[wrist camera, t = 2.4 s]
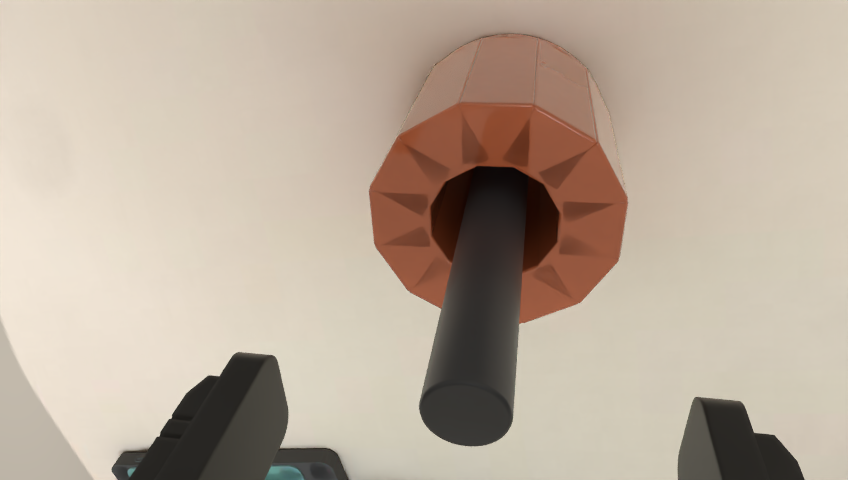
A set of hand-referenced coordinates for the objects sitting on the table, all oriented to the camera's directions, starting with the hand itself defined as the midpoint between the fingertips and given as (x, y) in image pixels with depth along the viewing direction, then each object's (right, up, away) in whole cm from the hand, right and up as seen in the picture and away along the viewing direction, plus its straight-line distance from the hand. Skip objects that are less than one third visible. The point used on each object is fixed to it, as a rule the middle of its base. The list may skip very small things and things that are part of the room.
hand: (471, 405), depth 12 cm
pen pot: (+2, +7, +11) cm, 14 cm away
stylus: (+2, +7, +11) cm, 13 cm away
